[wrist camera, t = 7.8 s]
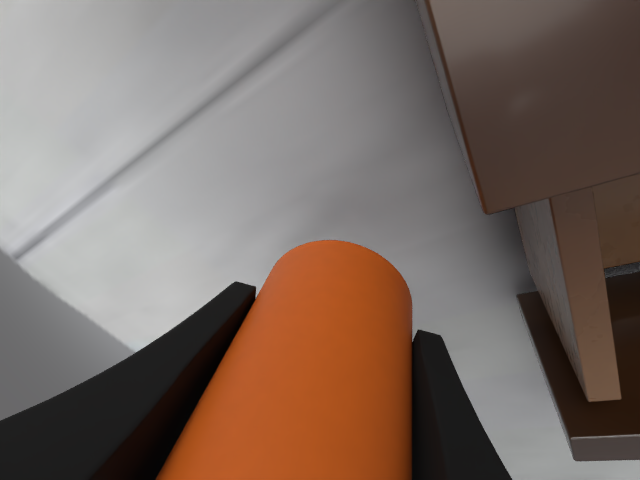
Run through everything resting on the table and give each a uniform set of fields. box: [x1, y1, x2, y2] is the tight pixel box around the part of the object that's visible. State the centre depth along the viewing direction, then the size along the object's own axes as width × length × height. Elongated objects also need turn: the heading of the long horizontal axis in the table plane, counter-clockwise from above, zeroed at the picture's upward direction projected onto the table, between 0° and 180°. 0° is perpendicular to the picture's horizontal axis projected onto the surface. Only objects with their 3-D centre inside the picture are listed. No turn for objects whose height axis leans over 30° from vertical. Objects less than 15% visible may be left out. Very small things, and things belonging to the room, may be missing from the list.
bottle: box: [155, 240, 412, 480], centre depth 8 cm, size 5×5×8 cm
